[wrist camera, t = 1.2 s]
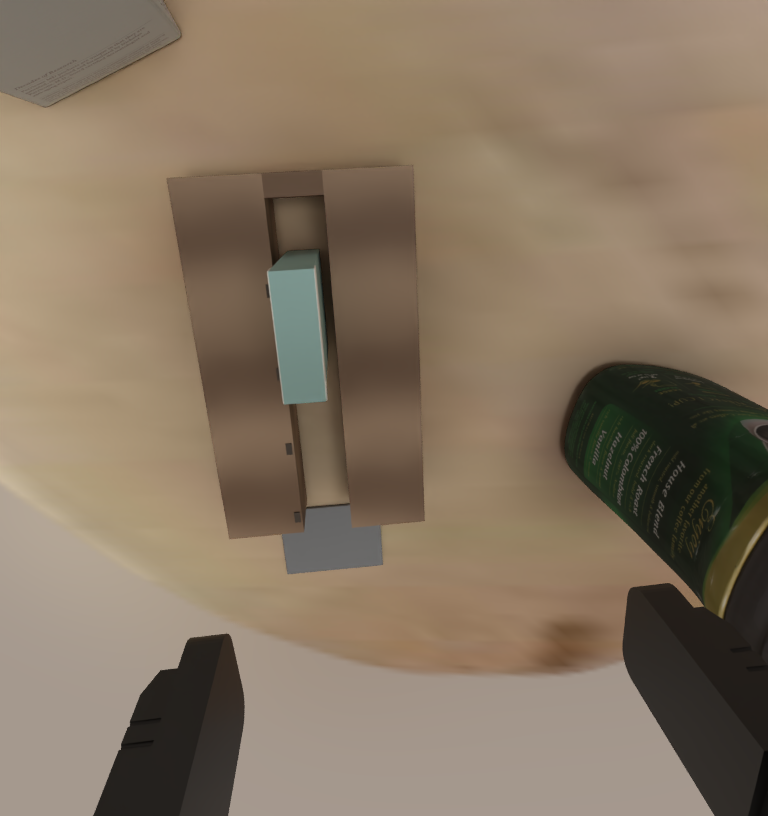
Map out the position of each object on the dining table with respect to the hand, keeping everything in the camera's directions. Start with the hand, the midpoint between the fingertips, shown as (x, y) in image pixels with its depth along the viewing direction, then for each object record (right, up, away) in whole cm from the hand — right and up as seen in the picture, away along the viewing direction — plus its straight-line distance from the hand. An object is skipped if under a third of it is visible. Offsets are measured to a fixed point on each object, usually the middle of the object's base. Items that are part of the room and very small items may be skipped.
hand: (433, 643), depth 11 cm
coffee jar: (+14, +4, +23) cm, 27 cm away
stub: (-5, +11, +18) cm, 22 cm away
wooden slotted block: (-5, +8, +19) cm, 21 cm away
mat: (-4, -3, +23) cm, 24 cm away
